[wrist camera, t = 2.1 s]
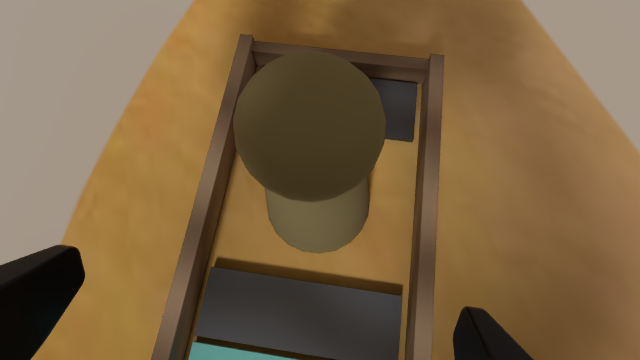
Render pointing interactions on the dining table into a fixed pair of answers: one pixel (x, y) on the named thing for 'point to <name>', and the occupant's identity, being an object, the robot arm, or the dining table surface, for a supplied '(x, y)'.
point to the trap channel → (302, 296)
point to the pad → (229, 353)
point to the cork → (311, 146)
